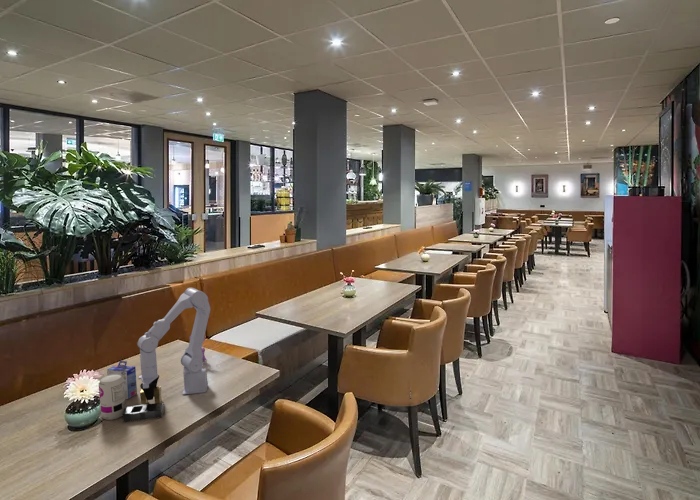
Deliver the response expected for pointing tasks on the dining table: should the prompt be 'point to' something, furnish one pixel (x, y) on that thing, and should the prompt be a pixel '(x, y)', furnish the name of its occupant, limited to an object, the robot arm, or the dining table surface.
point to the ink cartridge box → (126, 377)
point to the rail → (143, 412)
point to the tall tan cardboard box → (156, 395)
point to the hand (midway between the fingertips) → (151, 397)
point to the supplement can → (112, 396)
